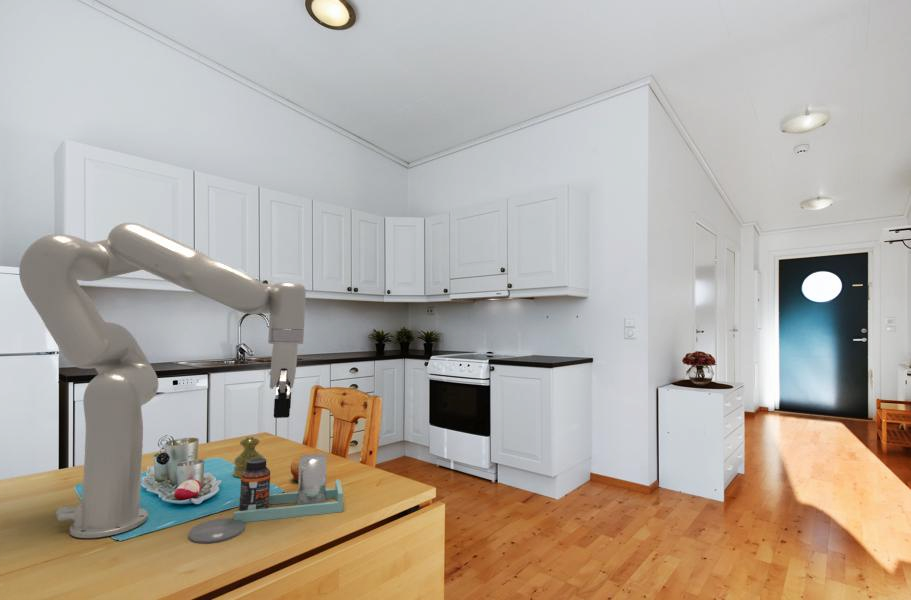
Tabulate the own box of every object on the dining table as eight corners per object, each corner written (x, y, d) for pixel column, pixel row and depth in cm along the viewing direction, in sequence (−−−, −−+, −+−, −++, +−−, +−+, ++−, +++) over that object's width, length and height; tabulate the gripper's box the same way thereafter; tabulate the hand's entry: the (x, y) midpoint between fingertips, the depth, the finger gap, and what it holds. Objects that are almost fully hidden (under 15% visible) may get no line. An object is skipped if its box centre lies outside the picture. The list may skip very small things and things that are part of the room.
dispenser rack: (233, 523, 95) (234, 503, 95) (239, 505, 104) (240, 487, 104) (342, 511, 102) (343, 493, 102) (339, 496, 111) (339, 479, 111)
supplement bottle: (257, 519, 97) (260, 465, 98) (232, 516, 98) (235, 462, 99) (274, 508, 103) (276, 457, 104) (250, 506, 104) (252, 455, 105)
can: (297, 513, 101) (299, 462, 101) (297, 503, 106) (299, 454, 107) (325, 510, 103) (327, 460, 103) (324, 500, 108) (326, 453, 109)
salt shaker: (227, 477, 123) (228, 439, 124) (245, 469, 130) (247, 433, 131) (251, 479, 122) (253, 441, 122) (268, 471, 129) (270, 435, 129)
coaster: (182, 546, 85) (182, 543, 85) (194, 524, 94) (194, 521, 94) (241, 539, 88) (241, 536, 88) (247, 518, 98) (247, 515, 98)
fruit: (333, 471, 125) (322, 449, 122) (313, 494, 119) (301, 471, 116) (313, 466, 129) (302, 444, 126) (293, 488, 124) (280, 465, 120)
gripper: (270, 335, 112) (267, 407, 111) (265, 338, 95) (261, 421, 94) (303, 336, 114) (299, 406, 113) (303, 338, 98) (299, 420, 97)
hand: (282, 413), depth 104 cm, fingers open, 9 cm apart
